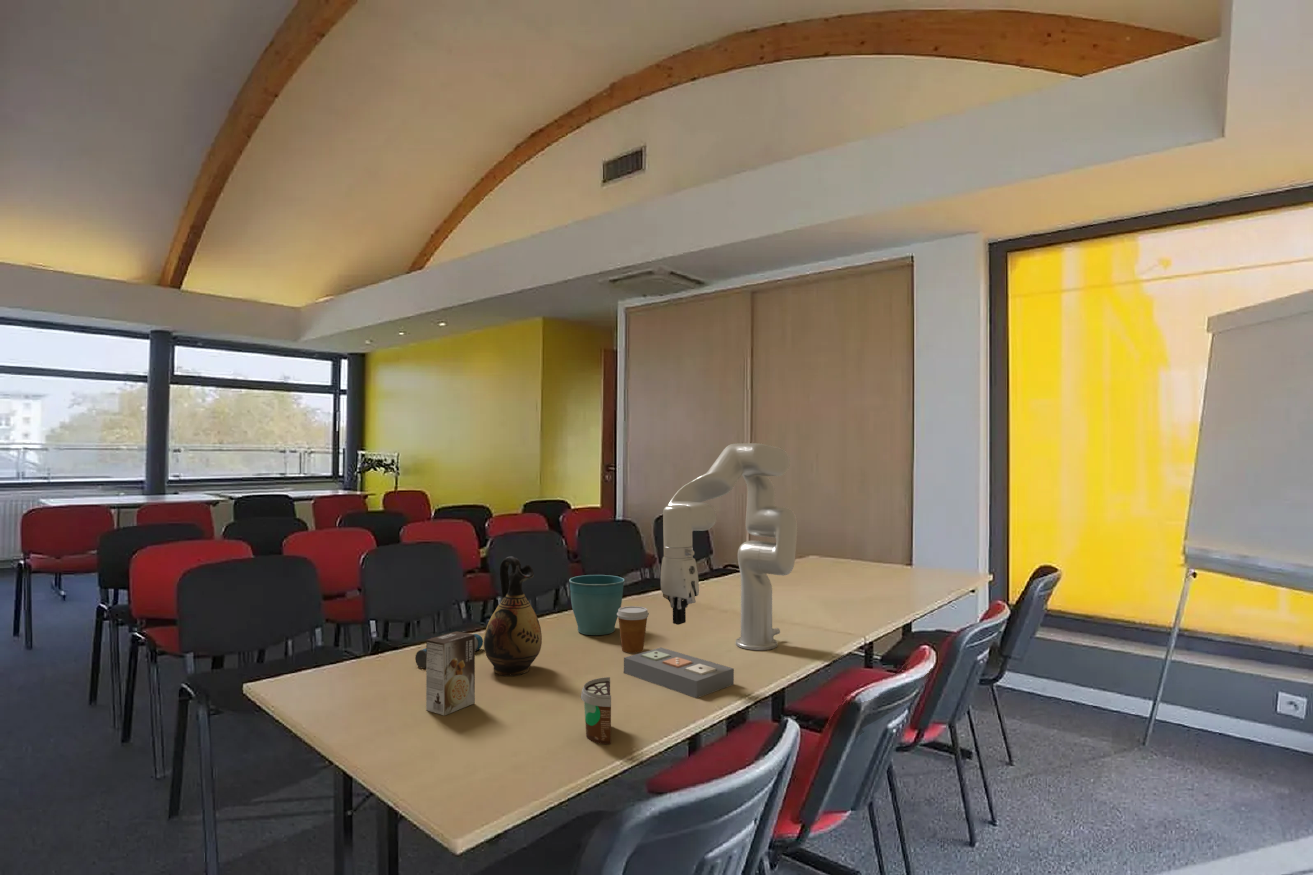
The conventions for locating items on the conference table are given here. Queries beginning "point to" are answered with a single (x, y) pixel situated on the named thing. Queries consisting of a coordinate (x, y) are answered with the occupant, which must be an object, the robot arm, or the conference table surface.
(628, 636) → the disposable coffee cup
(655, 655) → the button two dots
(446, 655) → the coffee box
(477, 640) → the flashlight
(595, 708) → the food container
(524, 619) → the ceramic jug
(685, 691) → the console
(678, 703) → the conference table surface
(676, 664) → the button three dots
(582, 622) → the flower pot
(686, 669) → the button one dot
